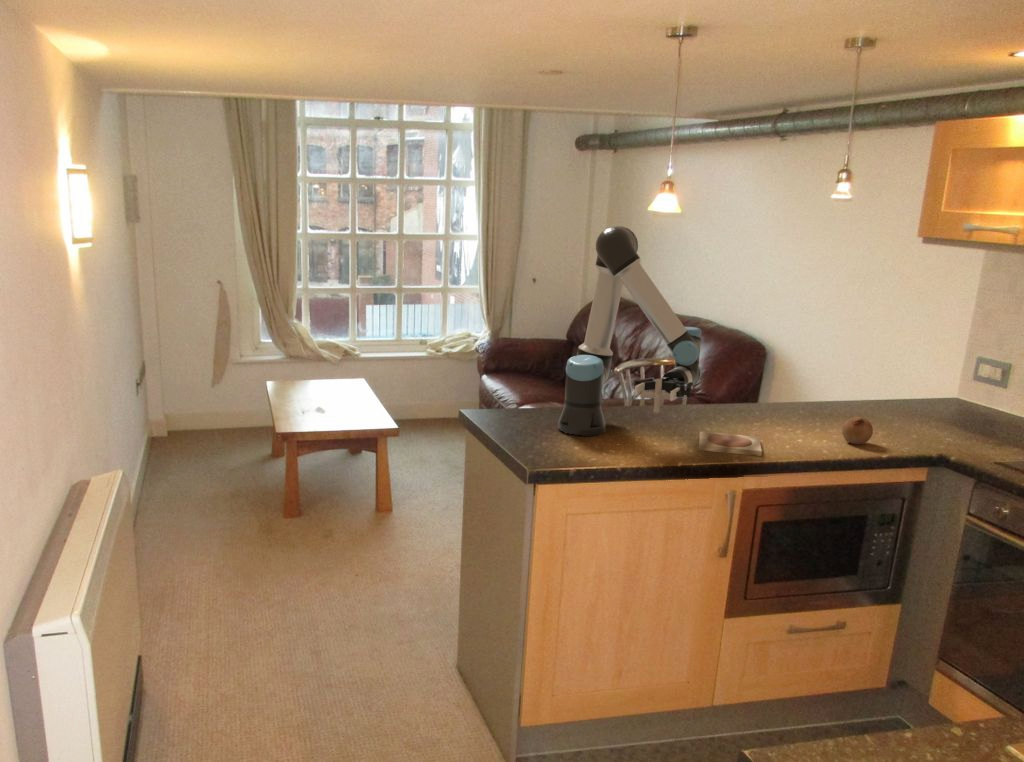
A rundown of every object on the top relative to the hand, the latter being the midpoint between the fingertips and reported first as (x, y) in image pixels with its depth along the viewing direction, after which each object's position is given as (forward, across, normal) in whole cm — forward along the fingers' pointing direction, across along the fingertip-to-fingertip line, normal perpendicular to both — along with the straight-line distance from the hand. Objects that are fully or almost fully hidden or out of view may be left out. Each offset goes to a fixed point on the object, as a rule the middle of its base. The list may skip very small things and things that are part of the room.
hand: (653, 393), depth 235 cm
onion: (-48, -52, -18) cm, 73 cm away
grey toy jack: (-4, 0, -7) cm, 8 cm away
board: (-22, -18, -18) cm, 33 cm away
